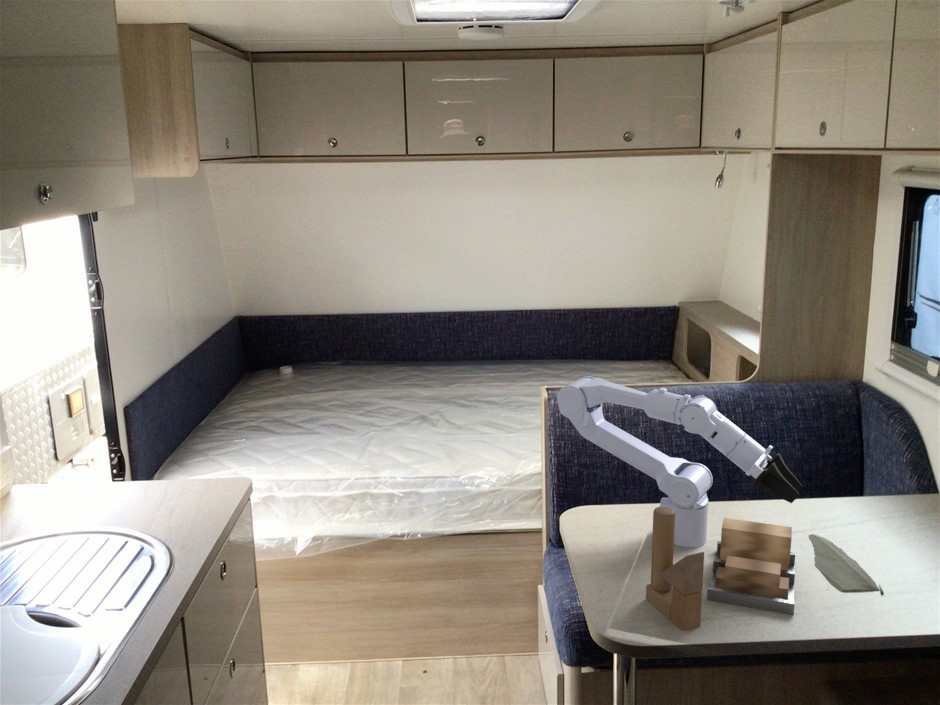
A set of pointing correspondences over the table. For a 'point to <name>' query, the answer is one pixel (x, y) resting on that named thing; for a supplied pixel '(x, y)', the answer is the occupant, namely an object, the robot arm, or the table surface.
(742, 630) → the table surface
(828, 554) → the stone slab
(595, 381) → the robot arm
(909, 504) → the table surface
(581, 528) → the table surface
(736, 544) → the oak board
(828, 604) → the table surface
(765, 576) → the walnut offcut upper
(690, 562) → the wooden block
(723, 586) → the walnut offcut lower
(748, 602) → the rack
